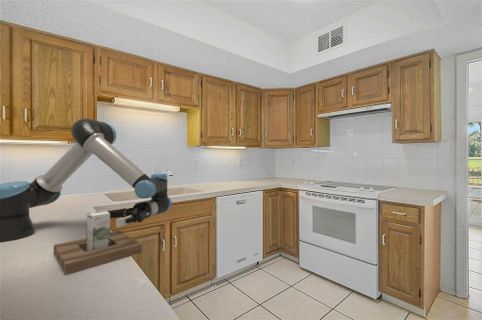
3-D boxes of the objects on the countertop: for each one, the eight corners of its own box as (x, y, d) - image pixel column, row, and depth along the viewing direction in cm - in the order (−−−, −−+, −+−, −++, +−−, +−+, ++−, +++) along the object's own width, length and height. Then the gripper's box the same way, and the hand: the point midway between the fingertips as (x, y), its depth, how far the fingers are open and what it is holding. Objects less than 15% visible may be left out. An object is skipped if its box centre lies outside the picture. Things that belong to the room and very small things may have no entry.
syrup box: (103, 248, 87) (103, 209, 86) (110, 252, 83) (110, 212, 83) (86, 253, 82) (85, 212, 82) (92, 257, 78) (92, 215, 78)
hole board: (53, 253, 82) (53, 244, 82) (120, 237, 98) (119, 230, 98) (65, 274, 67) (65, 264, 67) (141, 252, 83) (141, 244, 83)
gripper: (168, 220, 100) (129, 235, 80) (123, 215, 108) (78, 228, 88) (168, 203, 100) (129, 214, 80) (123, 199, 108) (78, 209, 88)
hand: (102, 221), depth 84 cm, fingers open, 13 cm apart
